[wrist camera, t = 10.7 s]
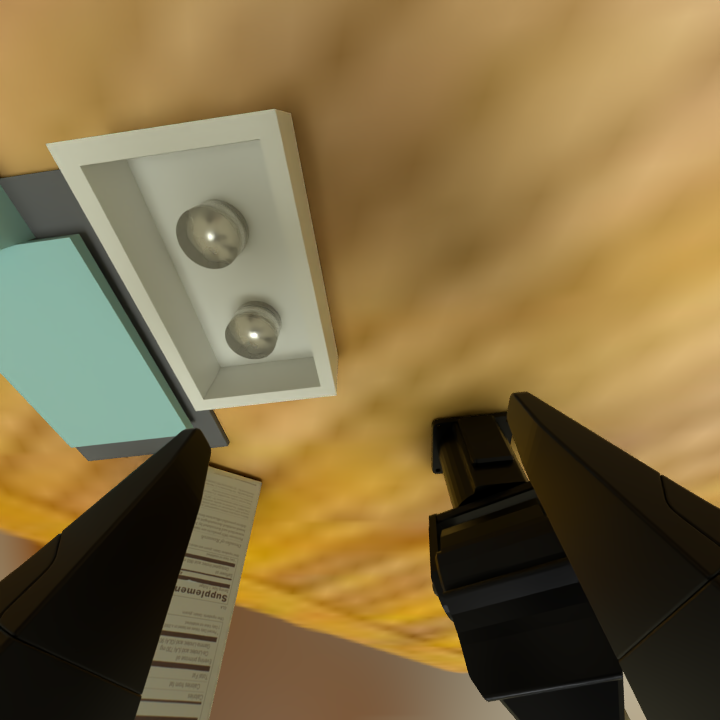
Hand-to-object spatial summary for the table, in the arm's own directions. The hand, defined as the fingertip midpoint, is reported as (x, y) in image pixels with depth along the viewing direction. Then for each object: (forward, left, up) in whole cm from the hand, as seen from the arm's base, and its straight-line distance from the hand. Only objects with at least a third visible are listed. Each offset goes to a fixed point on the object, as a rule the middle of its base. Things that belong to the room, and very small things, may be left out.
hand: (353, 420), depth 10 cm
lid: (-1, +18, -12) cm, 21 cm away
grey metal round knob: (+3, +6, -11) cm, 13 cm away
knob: (-2, +6, -11) cm, 13 cm away
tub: (+1, +6, -12) cm, 13 cm away
